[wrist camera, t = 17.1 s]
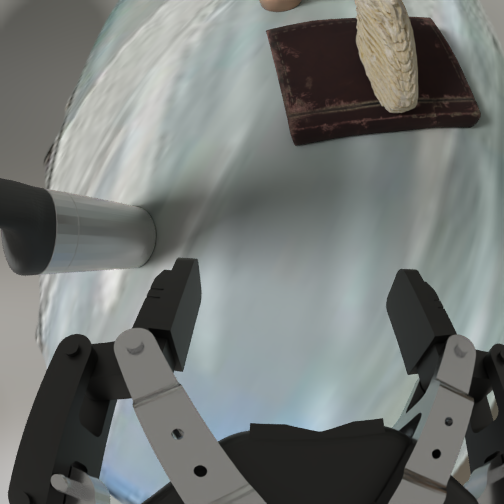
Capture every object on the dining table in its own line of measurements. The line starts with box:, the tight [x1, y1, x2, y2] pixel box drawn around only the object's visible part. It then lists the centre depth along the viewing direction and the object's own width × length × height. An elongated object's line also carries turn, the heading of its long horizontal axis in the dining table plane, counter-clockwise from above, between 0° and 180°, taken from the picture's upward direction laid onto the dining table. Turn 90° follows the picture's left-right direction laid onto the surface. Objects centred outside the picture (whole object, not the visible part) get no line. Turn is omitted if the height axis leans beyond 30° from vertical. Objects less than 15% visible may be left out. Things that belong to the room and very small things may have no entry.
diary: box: [266, 17, 481, 146], centre depth 29 cm, size 19×25×5 cm
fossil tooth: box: [355, 0, 418, 113], centre depth 21 cm, size 12×6×15 cm
